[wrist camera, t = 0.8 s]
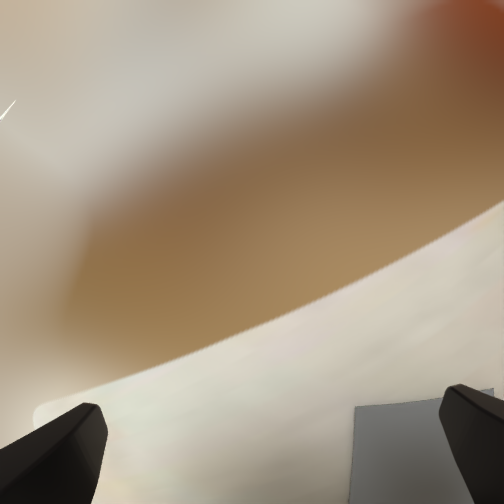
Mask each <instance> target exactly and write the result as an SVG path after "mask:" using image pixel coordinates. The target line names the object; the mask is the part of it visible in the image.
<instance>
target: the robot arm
mask: <svg viewBox="0 0 504 504" xmlns="http://www.w3.org/2000/svg"><path fill="white" fill-rule="evenodd" d="M439 419H440V422H441V424H442V427H443V430H444V432H445V435H446V438H447V441H448V444H449V446H450V449H451V452H452V455H453V457H454V460H455V462H456V464H457V467H458V469H459V471H460V473H461V475H462V477H463V479H464V482H465V484H466V486H467V488H468V491H469V493H470V495H471V497H472V500H473V502H474V504H504V401H503V400H501V399H498V398H495V397H493V396H490V395H488V394H485V393H483V392H480V391H478V390H475V389H472V388H470V387H467V386H465V385H462V384H457V385H453V386H449V387H448V388H447V389H446V391H445V394H444V397H443V399H442V402H441V405H440V408H439ZM107 437H108V429H107V425H106V422H105V420H104V417H103V414H102V411H101V408H100V407H99V406H98V405H97V404H92V403H82V404H80V405H78V406H77V407H75V408H73V409H72V410H70V411H68V412H66V413H65V414H63V415H61V416H59V417H58V418H56V419H54V420H52V421H51V422H49V423H47V424H45V425H44V426H42V427H40V428H38V429H37V430H35V431H33V432H31V433H29V434H28V435H26V436H24V437H22V438H20V439H18V440H17V441H15V442H13V443H11V444H9V445H8V446H6V447H4V448H2V449H0V504H91V502H92V499H93V496H94V493H95V490H96V487H97V483H98V479H99V475H100V470H101V465H102V460H103V455H104V450H105V446H106V441H107Z"/></svg>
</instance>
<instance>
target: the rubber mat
mask: <svg viewBox="0 0 504 504" xmlns="http://www.w3.org/2000/svg"><path fill="white" fill-rule="evenodd" d="M480 392H483V393H485V394H488V395H490V396H493V397H494V388H492V389H487V390H482V391H480ZM442 399H443V398H437V399H430V400H423V401H415V402H406V403H396V404H386V405H373V406H357V407H355V427H354V446H353V462H352V474H351V486H350V496H349V504H474V502H473V500H472V497H471V495H470V493H469V491H468V488H467V486H466V484H465V482H464V479H463V477H462V475H461V473H460V471H459V469H458V467H457V464H456V462H455V460H454V457H453V455H452V452H451V449H450V446H449V444H448V441H447V438H446V435H445V432H444V430H443V427H442V424H441V422H440V419H439V408H440V405H441V402H442Z"/></svg>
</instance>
